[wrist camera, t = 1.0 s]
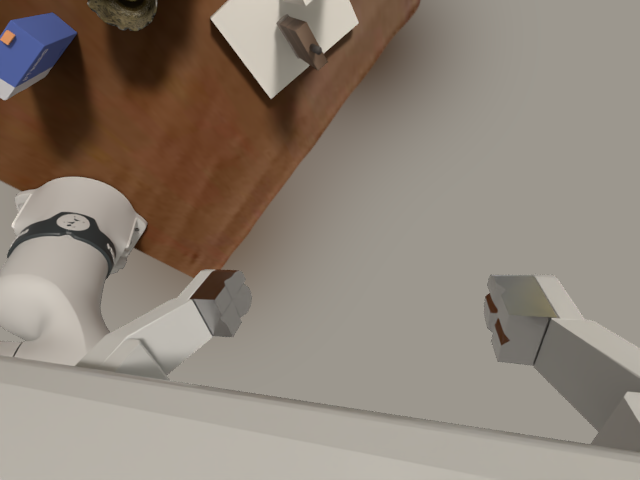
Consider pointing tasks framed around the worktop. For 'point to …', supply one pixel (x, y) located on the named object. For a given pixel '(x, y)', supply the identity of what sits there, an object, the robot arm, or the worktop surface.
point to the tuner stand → (279, 34)
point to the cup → (125, 12)
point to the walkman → (31, 51)
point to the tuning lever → (302, 41)
